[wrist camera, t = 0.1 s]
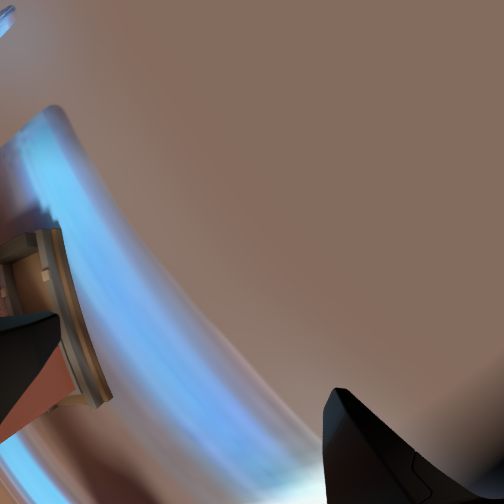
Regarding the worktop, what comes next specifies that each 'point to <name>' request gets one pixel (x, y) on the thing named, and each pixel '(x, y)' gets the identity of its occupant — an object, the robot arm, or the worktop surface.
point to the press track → (52, 304)
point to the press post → (42, 392)
